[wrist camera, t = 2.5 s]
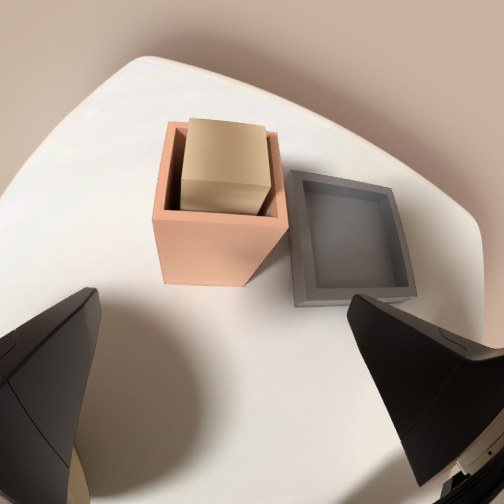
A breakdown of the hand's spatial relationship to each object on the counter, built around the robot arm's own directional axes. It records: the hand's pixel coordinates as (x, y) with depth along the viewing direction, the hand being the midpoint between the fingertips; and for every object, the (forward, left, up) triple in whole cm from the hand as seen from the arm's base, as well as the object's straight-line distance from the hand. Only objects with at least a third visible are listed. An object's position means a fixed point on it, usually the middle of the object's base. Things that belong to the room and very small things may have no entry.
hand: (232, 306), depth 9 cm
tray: (-15, -8, -14) cm, 21 cm away
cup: (-1, -8, -14) cm, 16 cm away
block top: (-1, -8, -5) cm, 9 cm away
